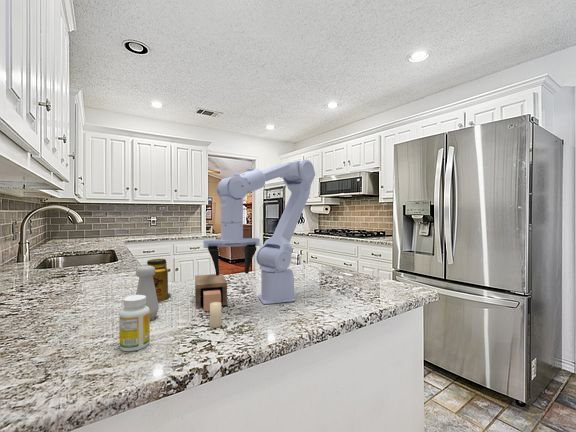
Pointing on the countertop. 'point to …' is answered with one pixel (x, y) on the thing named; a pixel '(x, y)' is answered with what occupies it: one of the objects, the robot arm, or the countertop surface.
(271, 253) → the robot arm
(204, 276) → the panel
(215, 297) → the cord block
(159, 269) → the condiment
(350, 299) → the countertop surface
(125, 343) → the supplement bottle
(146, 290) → the salt shaker
